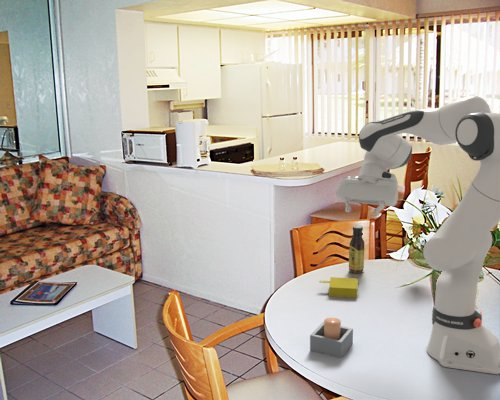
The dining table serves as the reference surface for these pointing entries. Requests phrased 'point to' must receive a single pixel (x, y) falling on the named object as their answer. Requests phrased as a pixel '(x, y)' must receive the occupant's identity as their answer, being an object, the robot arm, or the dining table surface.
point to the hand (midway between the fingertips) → (361, 213)
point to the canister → (332, 328)
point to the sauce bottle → (356, 251)
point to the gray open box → (331, 341)
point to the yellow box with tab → (342, 287)
